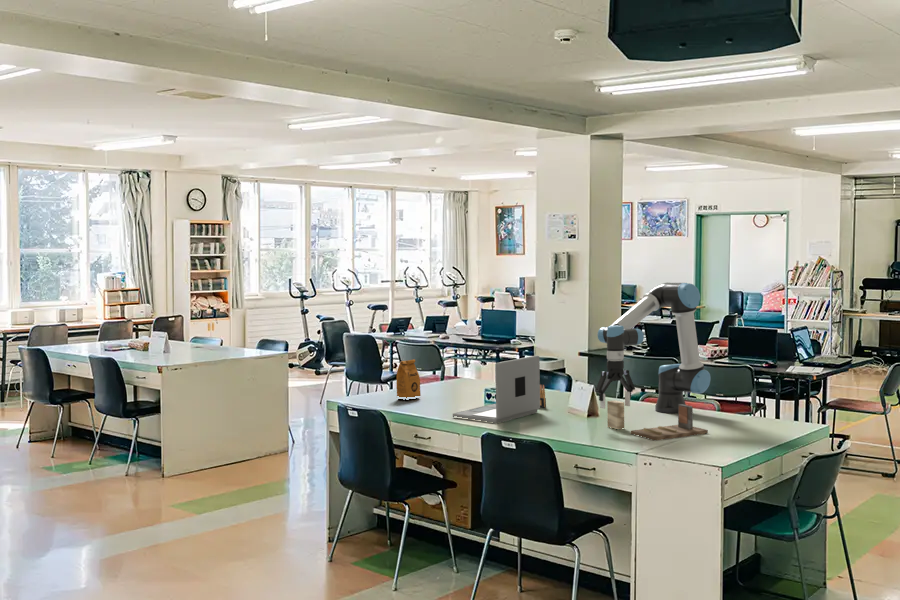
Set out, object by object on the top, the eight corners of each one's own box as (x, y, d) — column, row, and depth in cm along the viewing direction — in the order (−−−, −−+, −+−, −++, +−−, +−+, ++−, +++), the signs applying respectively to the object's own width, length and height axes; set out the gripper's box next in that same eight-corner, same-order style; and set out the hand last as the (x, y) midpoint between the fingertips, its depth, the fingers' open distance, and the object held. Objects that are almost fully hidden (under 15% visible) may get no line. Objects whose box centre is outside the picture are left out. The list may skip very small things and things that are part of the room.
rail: (682, 427, 403) (682, 401, 402) (707, 433, 388) (707, 407, 388) (630, 434, 390) (630, 407, 389) (654, 440, 375) (654, 413, 375)
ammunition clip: (546, 407, 460) (546, 384, 460) (543, 408, 459) (543, 384, 458) (530, 405, 468) (530, 382, 467) (528, 405, 467) (527, 383, 466)
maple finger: (615, 426, 408) (615, 400, 407) (625, 429, 401) (624, 402, 401) (607, 427, 406) (607, 401, 405) (617, 430, 399) (616, 403, 399)
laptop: (494, 408, 463) (493, 352, 462) (540, 413, 446) (540, 355, 444) (451, 418, 435) (450, 359, 434) (499, 424, 418) (498, 363, 416)
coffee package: (423, 399, 494) (422, 359, 493) (406, 402, 485) (405, 361, 484) (411, 397, 501) (410, 358, 500) (394, 400, 492) (393, 360, 491)
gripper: (597, 362, 393) (597, 410, 394) (642, 359, 404) (642, 406, 405) (587, 360, 400) (587, 407, 401) (632, 357, 411) (632, 403, 412)
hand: (615, 407), depth 403 cm, fingers open, 13 cm apart
